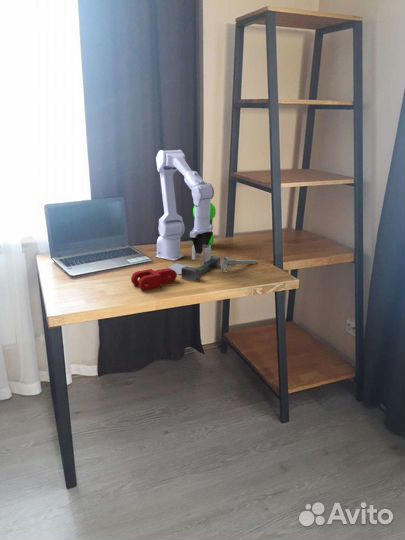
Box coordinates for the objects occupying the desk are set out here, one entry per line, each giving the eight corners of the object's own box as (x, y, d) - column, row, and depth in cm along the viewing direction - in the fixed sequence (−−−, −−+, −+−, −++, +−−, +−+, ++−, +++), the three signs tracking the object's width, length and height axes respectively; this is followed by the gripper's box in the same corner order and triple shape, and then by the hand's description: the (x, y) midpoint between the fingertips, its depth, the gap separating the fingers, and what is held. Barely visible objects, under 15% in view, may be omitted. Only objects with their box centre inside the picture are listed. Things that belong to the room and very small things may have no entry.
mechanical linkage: (140, 292, 154) (140, 278, 153) (131, 286, 160) (130, 272, 158) (180, 283, 163) (180, 270, 162) (169, 277, 169) (169, 265, 167)
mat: (162, 271, 175) (162, 270, 175) (175, 264, 183) (175, 263, 183) (179, 275, 171) (179, 274, 171) (192, 267, 180) (192, 266, 179)
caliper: (222, 273, 175) (223, 258, 173) (220, 272, 176) (221, 257, 174) (257, 263, 188) (258, 249, 186) (255, 262, 189) (256, 248, 187)
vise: (181, 278, 168) (181, 268, 166) (206, 264, 184) (207, 254, 183) (195, 281, 165) (195, 271, 164) (219, 266, 182) (220, 257, 180)
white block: (191, 259, 173) (192, 245, 171) (196, 256, 176) (197, 243, 174) (205, 262, 170) (206, 248, 168) (210, 259, 173) (211, 245, 171)
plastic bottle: (196, 243, 214) (197, 190, 205) (217, 245, 210) (219, 192, 202) (188, 248, 205) (189, 193, 196) (210, 251, 201) (212, 195, 193)
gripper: (202, 221, 160) (201, 258, 164) (220, 214, 172) (219, 248, 176) (185, 219, 163) (184, 255, 167) (204, 212, 175) (203, 245, 179)
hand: (201, 251), depth 172 cm, fingers closed on white block, 4 cm apart
